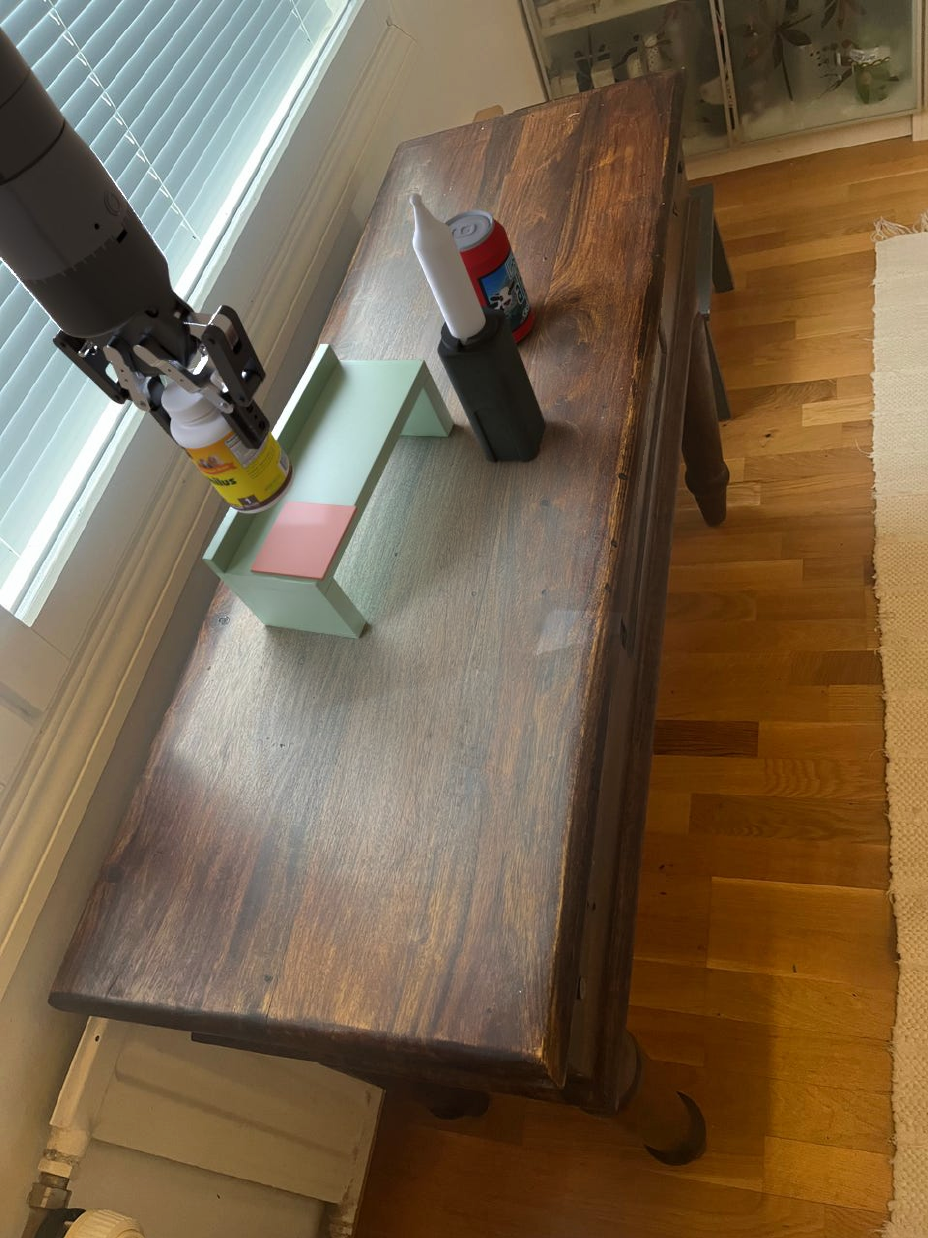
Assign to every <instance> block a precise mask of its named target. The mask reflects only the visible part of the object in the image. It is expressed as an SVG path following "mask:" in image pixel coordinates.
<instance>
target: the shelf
mask: <svg viewBox="0 0 928 1238" xmlns="http://www.w3.org/2000/svg"><path fill="white" fill-rule="evenodd" d="M439 390H440V389H439V388H438V386H437V383H436V382H435V379H434V378H433V376H432V373H431V371H430V368H429V366H428V365H427V362H426V360H425V359H353V360H352V359H351V360H350V359H349V360H348V359H345V360H342V359H341V360H340V359H339V357H338V356H337V354H336V353H335V351H334V348H333V346H331V344H330V343H320V344H319V347H318V349H317V350H316V352H315V354H314V355H313V357H312V359H311V361H310V363H309V365H308V366H307V368H306V369H305V372H304V374H303V375H302V377H301V379H300V380H299V383H298V384H297V386H296V388H295V389H294V392H293V393H292V395H291V397H290V399H289V400H288V402H287V404H286V406H285V408H284V409H283V412H282V414H281V415H280V417H279V419H278V420H277V422H276V424H275V425H274V428H273V430H272V431H271V434H272V435H273V437H274V438H275V439H276V441H277V442H278V444H279V445H280V447H281V448H282V450H283V451H284V452H285V454H286V455H287V457H288V458H289V460H290V461H291V463H292V465H293V468H294V479H293V483H292V485H291V487H290V489H289V491H288V492H287V494H286V495H285V496H284V497H283V498H282V499H281V500H280V501H279V502H278V503H277V504H275V505H274V506H272V507H271V508H269V509H267V510H264V511H261V512H258V513H242V512H239V511H236V510H235V509H233V508H232V507H231V506H229V509H228V511H227V512H226V515H225V516H224V518H223V520H222V522H221V524H220V525H219V527H218V529H217V530H216V533H215V535H214V536H213V538H212V540H211V541H210V544H209V546H208V547H207V549H206V551H205V552H204V554H203V555H202V557H201V559H202V560H203V561H204V563H205V564H206V565H207V566H208V567H209V568H210V569H211V570H212V571H213V572H214V573H215V575H217V576H218V577H219V579H220V580H221V581H222V582H223V583H224V584H225V585H226V586H227V587H228V589H229V590H231V592H233V594H234V595H236V597H237V598H238V599H239V600H240V601H241V602H242V603H243V604H244V605H245V606H246V607H247V609H249V610H250V612H251V613H252V614H253V615H254V616H255V617H256V618H257V619H258V620H259V621H260V622H261V623H262V624H263V625H264V626H272V627H279V628H283V629H291V630H298V631H304V632H311V633H317V634H324V635H332V636H337V637H343V638H351V639H360V637H361V634H362V632H363V631H364V628H365V625H366V623H367V619H366V618H365V617H364V615H363V614H362V612H361V611H360V610H359V609H358V608H357V606H356V605H355V604H354V602H353V601H352V600H351V598H350V597H349V596H348V595H347V593H346V592H345V591H344V589H343V588H342V586H340V584H339V583H338V582H337V580H336V579H335V578H334V576H335V574H336V572H337V569H338V567H339V565H340V564H341V561H342V559H343V557H344V555H345V553H346V551H347V549H348V547H349V545H350V542H351V541H352V538H353V536H354V534H355V532H356V530H357V527H358V525H359V523H360V521H361V519H362V517H363V515H364V513H365V511H366V509H367V506H368V505H369V502H370V500H371V498H372V496H373V494H374V492H375V489H376V487H377V485H378V483H379V481H380V479H381V477H382V474H383V473H384V470H385V469H386V466H387V464H388V462H389V460H390V458H391V455H392V453H393V451H394V449H395V447H396V446H397V443H398V441H399V439H400V437H401V436H410V437H411V436H412V437H439V438H441V437H443V438H444V437H445V438H448V437H449V436H450V434H451V431H452V429H453V427H454V425H455V421H454V419H453V417H452V415H451V413H450V411H449V409H448V407H447V404H446V402H445V400H444V398H443V395H442V394H441V392H440V391H439Z"/></svg>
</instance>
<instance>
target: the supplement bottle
mask: <svg viewBox="0 0 928 1238" xmlns="http://www.w3.org/2000/svg"><path fill="white" fill-rule="evenodd" d="M196 368H197V367H193V368H188V369H187V370H188V371H190V372H191V373H194V371H195V370H196ZM211 381H212V383H213V384H215V385H216V386H217V387H218V388H219V389H221V390H222V389H223V388H224V386H225V384H224V382H221V381H220V379H218V377H217V376H216V374H214V373H213V374H212V376H211ZM161 402H162V405H163V407H164V408H165V410H166V411H167V412H168V413H169V415H170V417H171V418H172V419H171V433H172V436H173V437H174V439H175V440H176V442H177V443H178V444H179V445H178V446H179V447H180V448H181V449H182V450H183V451H184V453H185V454H186V455H187V456H188V458H189V459H190V460H191V461H192V462H193V464H194V465H195V466H196V467H197V468H198V470H199V471H200V472H201V474H203V476H204V477H205V478H206V479H207V480H208V482H210V484H211V485H212V486H213V488H214V489H215V490H216V491H217V492H218V494H219V495H220V496H221V498H223V500H224V501H225V502H226V503H227V504H228V505H229V507H232V508H233V509H235V510H236V511H239V512H242V513H258V512H261V511H264V510H267V509H269V508H271V507H272V506H274V505H275V504H277V503H278V502H279V501H280V500H281V499H282V498H283V497H284V496H285V495H286V494H287V492H288V491H289V489H290V487H291V485H292V483H293V479H294V468H293V465H292V463H291V461H290V460H289V458H288V457H287V455H286V454H285V452H284V451H283V450H282V448H281V447H280V445H279V444H278V442H277V441H276V439H275V438H274V437H273V435H272V434H271V433H272V431H270V430H269V433H268V434H267V436H266V438H265V440H264V442H263V443H262V445H261V447H260V448H259V449H247V448H246V447H245V445H244V444H243V443H242V441H241V440H240V439H239V437H238V436H237V435H236V433H235V432H234V431H233V429H232V428H231V427H230V425H229V424H228V423H227V421H226V420H225V419H224V417H223V416H222V415H221V412H222V411H221V410H220V409H218V408H217V407H216V406H215V405H213V404H212V403H211V402H210V401H209V400H207V399H206V398H205V397H204V396H203V395H201V394H200V393H194V394H191V393H188V392H187V391H186V390H185V389H183V388H182V387H181V386H180V385H178V384H177V383H176V382H175V381H174V380H172V379H171V381H170V382H168V383H167V385H166V386H165V390H164V392H163V394H162V398H161Z"/></svg>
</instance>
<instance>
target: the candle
mask: <svg viewBox="0 0 928 1238" xmlns="http://www.w3.org/2000/svg"><path fill="white" fill-rule="evenodd" d="M409 203H410V204H411V205H412V206H413V215H414V226H415V229H414V234H413V238H412V247H413V250H414V252H415V254H416V256H417V259H418V261H419V263H420V266H421V268H422V270H423V272H424V275H425V278H426V279H427V282H428V284H429V286H430V288H431V291H432V293H433V296H434V298H435V300H436V302H437V304H438V307H439V309H440V311H441V314H442V316H443V318H444V320H445V321H444V322H443V324H442V326H441V329H440V340H439V342H438V345H437V349H436V351H437V352H436V353H437V355H438V357H439V360H440V362H441V363H442V365H443V369H444V371H445V372H446V374H447V376H448V379H449V381H450V383H451V385H452V388H453V389H454V392H455V394H456V396H457V398H458V400H459V402H460V405H461V407H462V409H463V411H464V413H465V416H466V418H467V420H468V422H469V425H470V427H471V428H472V430H473V432H474V435H475V437H476V439H477V441H478V444H479V446H480V448H481V449H482V452H483V455H484V456H485V459H486V460H487V461H488V462H489V463H492V464H497V463H498V462H522V463H528V462H531V461H533V460H534V459H535V458H537V456H538V455H539V453H540V450H541V448H542V444H543V440H544V438H545V437H544V436H545V433H546V429H547V424H546V420H545V419H544V415H543V412H542V410H541V408H540V404H539V402H538V399H537V397H536V394H535V391H534V388H533V386H532V385H533V384H532V383H531V380H530V378H529V375H528V372H527V369H526V367H525V364H524V361H523V358H522V356H521V353H520V350H519V348H518V345H517V343H516V342H515V339H514V337H513V334H512V331H511V329H510V326H509V323H508V321H507V318H506V315H505V313H504V312H503V311H502V310H500V309H491V308H489V307H487V306H483V305H480V303H479V301H478V298H477V296H476V293H475V291H474V288H473V286H472V283H471V281H470V278H469V275H468V273H467V270H466V268H465V265H464V263H463V260H462V258H461V255H460V253H459V250H458V247H457V245H456V242H455V240H454V237H453V235H452V232H451V230H450V228H449V227H448V226H447V225H446V224H444V223H445V222H443V221H441V220H439V219H437V218H436V217H435V215H433V214H432V212H431V211H430V210H429V208H427V206H426V205H425V204H424V203H423V197H422V196H421V194H419V193H415V192H414V193H412V194H411V195H410V197H409Z"/></svg>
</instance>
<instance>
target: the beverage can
mask: <svg viewBox="0 0 928 1238" xmlns="http://www.w3.org/2000/svg"><path fill="white" fill-rule="evenodd" d="M443 223H444V224H446V225H447V226H448V227H449V228H450V230H451V232H452V235H453V237H454V240H455V242H456V245H457V247H458V250H459V253H460V255H461V258H462V260H463V263H464V265H465V268H466V270H467V273H468V275H469V278H470V281H471V283H472V286H473V288H474V291H475V293H476V296H477V298H478V301H479V303H480V305H483V306H487V307H489V308H491V309H500V310H502V311H503V312H504V313H505V315H506V318H507V321H508V323H509V326H510V329H511V331H512V334H513V337H514V339H515V342H516V344H517V343H519V341H521V340H522V339H524V337H526V335H528V333H529V332H530V331H531V330H532V327H533V325H534V321H535V318H534V317H535V315H534V312H533V309H532V306H531V305H532V304H531V303H530V299H529V296H528V293H527V290H526V287H525V284H524V281H523V277H522V275H521V271H520V269H519V265H518V263H517V260H516V257H515V254H514V252H513V248H512V246H511V243H510V240H509V237H508V234H507V231H506V229H505V227H504V226H503V225H502V223H500V222H499V221H498V220H496V219H495V218H494V217H493V215H492V214H491V213H490V212H489V211H487V210H484V209H469V210H466V211H462V212H460V213H457V214H455V215H454V216H452V217H450V218H449V219H448V220H446V221H445V222H443Z"/></svg>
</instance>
